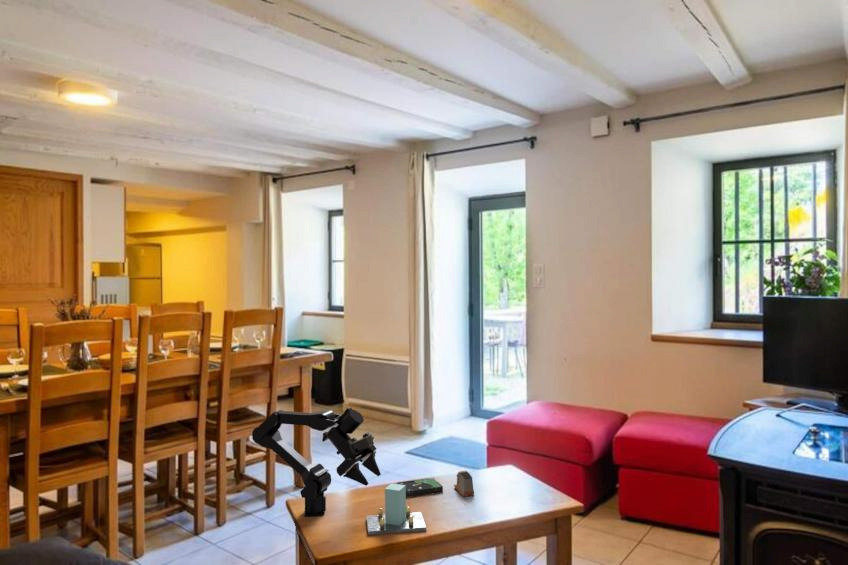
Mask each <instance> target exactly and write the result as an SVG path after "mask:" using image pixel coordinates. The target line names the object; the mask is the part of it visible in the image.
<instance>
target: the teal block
mask: <svg viewBox="0 0 848 565" xmlns="http://www.w3.org/2000/svg"><path fill="white" fill-rule="evenodd" d="M406 504H407V497H406V485H400V484H397V483H390V484H389V485H387V486H386V487H385V488H384V508H385V510H384V514H385V523H386V524H392V525H399V526H400V525H401V524H402V523H403V522H404V521H405V520H406V506H407V505H406Z"/></svg>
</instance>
